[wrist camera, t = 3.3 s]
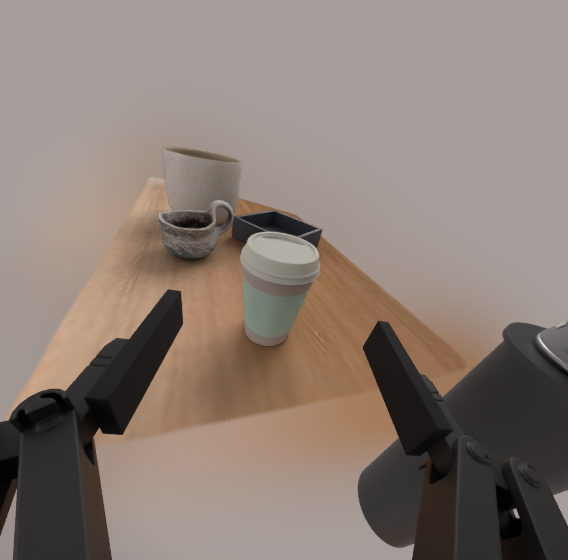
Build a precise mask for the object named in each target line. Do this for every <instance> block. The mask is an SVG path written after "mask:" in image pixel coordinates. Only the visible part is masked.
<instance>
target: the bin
mask: <svg viewBox="0 0 568 560" xmlns="http://www.w3.org/2000/svg"><path fill="white" fill-rule="evenodd" d="M260 232H279V233H285V234H289V235H293V236H296V237H299V238H301V239H303V240H306V241H307V242H309V243H311V244H312V245H313V246H314V247H317V246H318V243H319V239H320V236H321V233H322V229H321V228H318V227H316V226H313V225H311V224H308V223H306V222H303V221H301V220H298V219H296V218H293V217H291V216H288V215H286V214H283V213H281V212H278V211H276V210H271V211H265V212H259V213H252V214H246V215H240V216H234V219H233V228H232V237H234V238H236V239H238V240H240V241H242V242H244V243H247V240H248V238H249V237H250V236H252V235H253V234H256V233H260Z"/></svg>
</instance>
